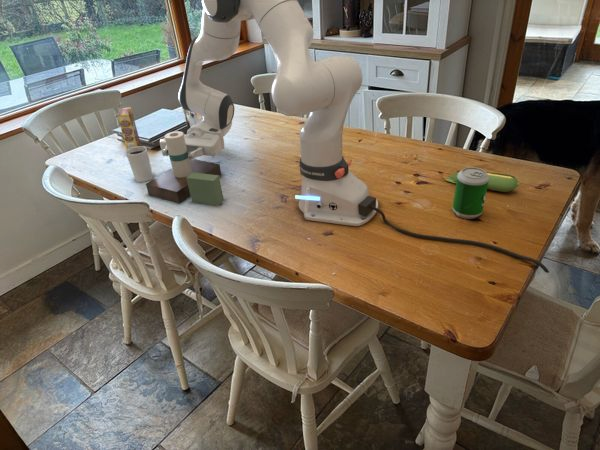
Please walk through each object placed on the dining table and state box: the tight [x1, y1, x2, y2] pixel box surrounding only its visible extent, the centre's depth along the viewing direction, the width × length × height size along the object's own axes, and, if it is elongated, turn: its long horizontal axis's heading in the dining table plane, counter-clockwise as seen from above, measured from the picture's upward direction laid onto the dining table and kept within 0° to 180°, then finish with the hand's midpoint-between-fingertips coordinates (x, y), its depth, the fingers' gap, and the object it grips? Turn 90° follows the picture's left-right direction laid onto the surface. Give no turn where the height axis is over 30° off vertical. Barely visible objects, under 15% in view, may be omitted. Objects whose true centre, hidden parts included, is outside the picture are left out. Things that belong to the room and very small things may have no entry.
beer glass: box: [181, 107, 204, 130], centre depth 167 cm, size 7×7×15 cm
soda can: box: [451, 166, 489, 220], centre depth 111 cm, size 8×8×12 cm
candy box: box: [117, 106, 142, 150], centre depth 162 cm, size 9×4×15 cm, turn 13°
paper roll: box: [163, 130, 192, 178], centre depth 133 cm, size 13×6×13 cm
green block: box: [186, 172, 225, 207], centre depth 127 cm, size 4×9×8 cm, turn 70°
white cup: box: [125, 146, 154, 183], centre depth 143 cm, size 7×7×10 cm
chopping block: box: [145, 158, 222, 204], centre depth 138 cm, size 13×20×4 cm, turn 150°
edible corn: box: [444, 170, 520, 193], centre depth 125 cm, size 5×20×5 cm, turn 62°
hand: (177, 155), depth 133 cm, fingers open, 8 cm apart
